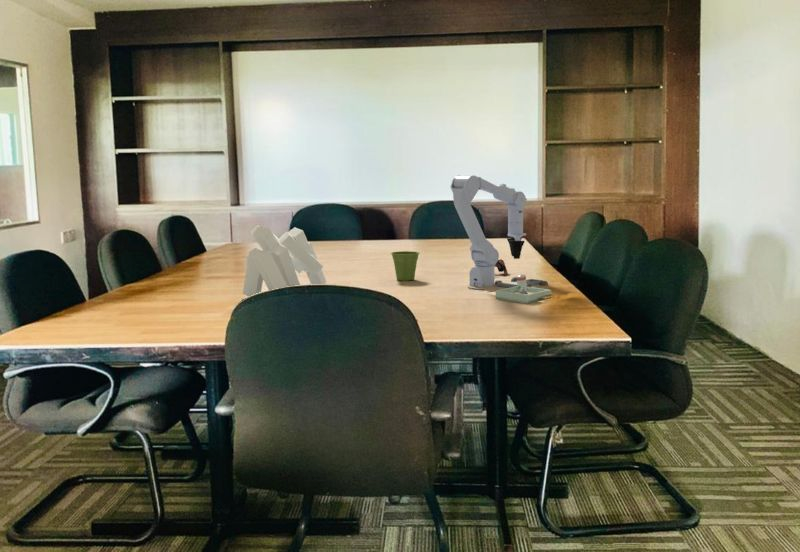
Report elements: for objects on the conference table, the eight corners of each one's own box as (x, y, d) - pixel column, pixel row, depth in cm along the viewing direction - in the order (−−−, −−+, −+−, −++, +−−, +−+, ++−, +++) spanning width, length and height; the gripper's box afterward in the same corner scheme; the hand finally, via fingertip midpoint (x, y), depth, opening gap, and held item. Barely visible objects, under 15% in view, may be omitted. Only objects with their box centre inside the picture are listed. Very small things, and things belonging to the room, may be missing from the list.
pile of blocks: (280, 299, 297) (235, 224, 285) (345, 271, 288) (301, 193, 277) (255, 342, 265) (203, 260, 254) (328, 313, 257) (277, 227, 245)
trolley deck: (524, 293, 269) (524, 285, 268) (491, 289, 280) (491, 281, 279) (548, 288, 279) (548, 280, 279) (516, 284, 290) (516, 276, 289)
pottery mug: (505, 278, 308) (495, 261, 307) (487, 286, 314) (477, 270, 313) (514, 267, 318) (504, 251, 317) (496, 275, 324) (486, 259, 323)
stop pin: (525, 296, 259) (523, 276, 257) (516, 296, 260) (514, 276, 259) (529, 293, 261) (527, 274, 260) (520, 293, 263) (518, 274, 262)
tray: (527, 303, 250) (527, 295, 250) (495, 299, 260) (495, 290, 259) (550, 298, 259) (551, 289, 259) (519, 293, 269) (519, 285, 269)
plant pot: (424, 280, 303) (424, 253, 301) (397, 282, 298) (397, 255, 297) (413, 276, 314) (413, 250, 312) (387, 278, 309) (386, 252, 308)
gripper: (528, 223, 280) (528, 259, 282) (523, 220, 294) (523, 254, 296) (509, 224, 280) (509, 259, 282) (505, 221, 294) (505, 255, 296)
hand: (515, 257), depth 289 cm, fingers open, 7 cm apart
